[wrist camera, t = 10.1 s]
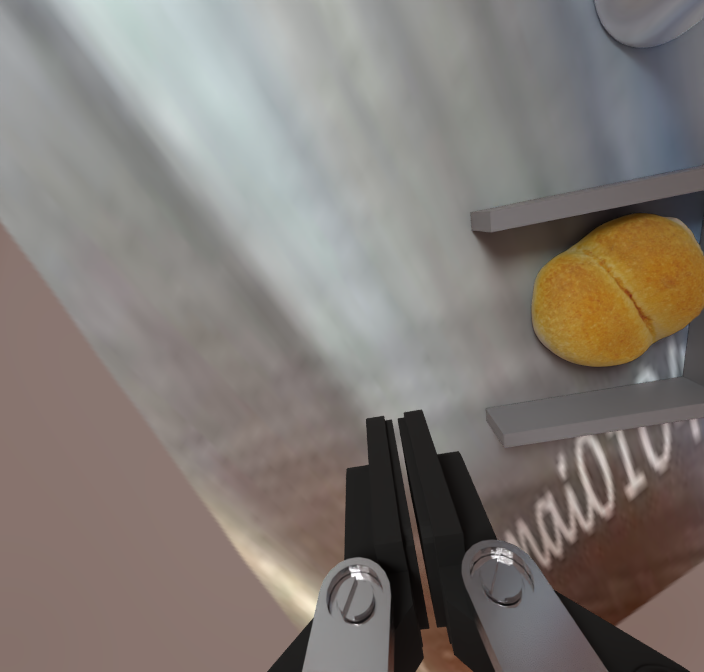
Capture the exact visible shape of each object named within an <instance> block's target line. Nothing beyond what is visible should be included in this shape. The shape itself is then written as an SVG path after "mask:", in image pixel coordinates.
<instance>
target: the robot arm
mask: <svg viewBox="0 0 704 672" xmlns="http://www.w3.org/2000/svg"><path fill="white" fill-rule="evenodd" d="M398 424H399V430H400V436H401V441H402V447H403V453H404V459H405V464H406V470H407V476H408V482H409V487H410V493H411V498H412V503H413V508H414V513H415V518H416V523H417V528H418V533H419V539H420V544H421V549H422V554H423V559H424V564H425V569H426V574H427V579H428V584H429V589H430V594H431V599H432V604H433V609H434V614H435V619H436V624H437V628H438V627H446V628H447V632H448V637H449V641H450V644H452V647H453V651H454V655H455V656H456V657H458V658H459V659H460V660H461V661H462V662H463V663H464V664H465V665H467V666H468V667H469V668H470V669H471V670H472V671H473V672H690V671H688V670H687V669H685V668H684V667H682V666H681V665H679V664H677V663H676V662H674V661H672V660H671V659H669V658H667V657H666V656H664V655H662V654H660V653H659V652H657V651H655V650H654V649H652V648H650V647H649V646H647V645H645V644H643V643H642V642H640V641H639V640H637V639H635V638H633V637H632V636H630V635H629V634H627V633H625V632H623V631H622V630H620V629H619V628H617V627H615V626H614V625H612V624H610V623H609V622H607V621H605V620H604V619H602V618H600V617H599V616H597V615H595V614H593V613H592V612H590V611H588V610H587V609H585V608H583V607H582V606H580V605H578V604H577V603H575V602H573V601H572V600H570V599H568V598H567V597H565V596H563V595H562V594H560V593H558V592H557V591H555V590H553V589H552V587H551V586H550V584H549V583H548V581H547V580H546V578H545V577H544V575H543V574H542V572H541V571H540V569H539V568H538V566H537V565H536V564H535V562H534V561H533V560H532V559H531V558H530V557H529V555H528V554H527V553H525V552H524V551H522V550H521V549H520V548H518V547H517V546H515V545H512V544H510V543H508V542H505V541H500V540H497V538H496V536H495V533H494V531H493V529H492V526H491V524H490V522H489V519H488V517H487V515H486V512H485V510H484V508H483V505H482V503H481V501H480V498H479V496H478V493H477V491H476V489H475V486H474V484H473V482H472V479H471V477H470V475H469V472H468V470H467V468H466V465H465V463H464V461H463V458H462V456H461V454H460V453H459V451H457V452H450V453H444V454H437V453H436V450H435V447H434V444H433V441H432V438H431V435H430V432H429V429H428V426H427V423H426V420H425V417H424V414H423V411H422V410H416V411H410V412H404V418H398ZM366 428H367V444H368V460H369V465H365V466H359V467H352V468H347V472H346V509H345V555H344V561H343V562H341V563H339V564H337V565H336V566H335V567H334V568H333V569H332V570H330V572H329V573H328V575H327V576H326V578H325V579H324V581H323V583H322V586H321V589H320V592H319V596H318V601H317V605H316V610H315V615H314V618H313V619H312V620H311V621H310V622H309V624H308V625H307V626H306V627H305V628H304V629H303V631H302V632H301V633H300V634H299V635H298V636H297V638H296V639H295V640H294V641H293V642H292V643H291V645H290V646H289V647H288V648H287V649H286V650H285V652H284V653H283V654H282V655H281V656H280V657H279V659H278V660H277V661H276V662H275V663H274V664H273V666H272V667H271V668H270V669H269V670H268V671H267V672H416V670H417V669H418V667H419V665H420V663H421V662H422V660H423V658H424V656H423V650H422V647H423V643H422V637H421V631H420V630H421V629H429V623H428V617H427V612H426V606H425V601H424V595H423V590H422V584H421V578H420V573H419V567H418V562H417V556H416V551H415V545H414V540H413V534H412V528H411V523H410V517H409V512H408V506H407V501H406V495H405V490H404V484H403V479H402V473H401V468H400V462H399V456H398V451H397V445H396V440H395V434H394V429H393V423H392V420H386V421H385V419H384V416H380V417H373V418H367V419H366Z"/></svg>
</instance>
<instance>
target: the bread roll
mask: <svg viewBox="0 0 704 672" xmlns="http://www.w3.org/2000/svg"><path fill="white" fill-rule="evenodd" d="M703 308H704V256H703V251H702V250H701V248H700V246H699V244H698V242H697V241H696V239H695V237H694V234H693V233H692V232H691V230H690V229H689V228H688V227H687V226H686V225H685V224H684V223H683V222H682V221H680V220H679V219H677V218H674V217H662V216H659V215H656V214H648V213H633V214H629V215H625V216H622V217H619V218H617V219H614V220H611V221H608V222H606V223H604V224H602V225H600V226H599V227H597V228H595V229H594V230H593V231H591V232H590V233H589V234H588V235H586V236H585V237H584V238H583V239H581V240H580V241H579V242H578V243H576V244H575V245H573V246H572V247H571V248H569V249H568V250H567V251H565V252H562V253H560V254H559V255H557V256H556V257H554V258H553V259H551V260H550V261H549V262H548V263H547V264H546V265H545V266H543V268H542V269H541V270H540V271H539V273H538V274H537V277H536V280H535V283H534V290H533V297H532V308H531V312H532V323H533V328H534V331H535V333H536V335H537V337H538V338H539V340H540V341H541V342H542V344H543V345H544V346H545V347H547V348H548V349H549V350H550V351H552V352H553V353H554V354H556V355H557V356H559V357H561V358H563V359H565V360H567V361H569V362H572V363H575V364H580V365H585V366H592V367H603V366H613V365H620V364H624V363H628V362H630V361H633V360H634V359H636V358H638V357H639V356H641V355H642V354H643V353H644V352H645V351H646V350H647V349H648V348H649V346H651V345H652V344H653V343H655V342H656V341H658V340H659V339H662V338H664V337H667V336H670V335H672V334H674V333H676V332H677V331H679V330H681V329H683V328H685V327H686V326H687V325H688V324H689V323H690V322H691V321H692V320H693V319H695V318H696V317H697V316H698V315H699V314H700V313H701V311H702V309H703Z"/></svg>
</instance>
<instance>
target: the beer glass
mask: <svg viewBox="0 0 704 672" xmlns="http://www.w3.org/2000/svg"><path fill="white" fill-rule="evenodd" d="M594 1H595V7H596V10H597V14H598V16H599V19H600V21H601V23H602V25H603V26H604V28H605V29H606V31H607V32H608V33H609V34H610V35H611V36H612V37H613V38H614V39H616V40H617V41H618V42H620V43H622V44H624V45H627V46H630V47H635V48H650V47H655V46H658V45H662V44H665V43H667V42H669V41H671V40H673V39H675V38H677V37H679V36H680V35H682V34H683V33H685V32H686V31H688V30H689V29H690V28H692V27H693V26H694V25H696V24H697V23H698V22H699V21H701V20H702V19H703V18H704V0H594Z"/></svg>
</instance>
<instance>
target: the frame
mask: <svg viewBox="0 0 704 672" xmlns="http://www.w3.org/2000/svg"><path fill="white" fill-rule="evenodd" d="M703 190H704V165H702V166H697V167H692V168H687V169H682V170H677V171H672V172H667V173H662V174H657V175H653V176H648V177H643V178H638V179H633V180H628V181H623V182H618V183H613V184H608V185H603V186H598V187H593V188H588V189H583V190H579V191H574V192H569V193H564V194H559V195H554V196H549V197H544V198H539V199H534V200H529V201H524V202H519V203H514V204H509V205H505V206H500V207H495V208H490V209H485V210H480V211H475V212H470V214H471V227H472V230H473V231H483V232H495V231H501V230H506V229H511V228H516V227H521V226H526V225H531V224H536V223H541V222H546V221H551V220H556V219H561V218H566V217H571V216H576V215H581V214H586V213H592V212H597V211H602V210H607V209H612V208H617V207H622V206H627V205H632V204H637V203H642V202H647V201H652V200H657V199H662V198H667V197H672V196H677V195H682V194H688V193H693V192H698V191H703ZM700 248H701V250H702V251H703V256H704V218H703V225H702V233H701V241H700ZM703 417H704V308H703V309H702V311H701V313H700V314H699V315H698V316H697V317H696V318H695V319H693V320H692V321H691V322H690V325H689V333H688V341H687V348H686V356H685V364H684V371H683V377H677V378H671V379H665V380H658V381H652V382H646V383H640V384H634V385H628V386H621V387H615V388H609V389H603V390H597V391H591V392H584V393H578V394H572V395H566V396H560V397H554V398H548V399H541V400H535V401H529V402H523V403H517V404H511V405H504V406H498V407H492V408H486V419H487V422H488V424H489V425H490V427H491V428H492V430H493V431H494V433H495V434H496V436H497V437H498V439H499V441H500V442H501V444H502V445H503V447H504V448H508V447H514V446H521V445H527V444H534V443H540V442H547V441H553V440H560V439H566V438H573V437H579V436H586V435H592V434H599V433H605V432H612V431H618V430H625V429H631V428H638V427H644V426H651V425H657V424H664V423H670V422H677V421H683V420H690V419H696V418H703Z"/></svg>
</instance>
